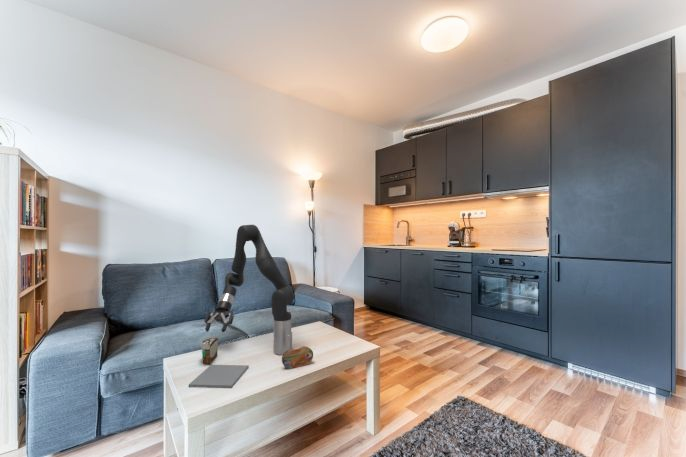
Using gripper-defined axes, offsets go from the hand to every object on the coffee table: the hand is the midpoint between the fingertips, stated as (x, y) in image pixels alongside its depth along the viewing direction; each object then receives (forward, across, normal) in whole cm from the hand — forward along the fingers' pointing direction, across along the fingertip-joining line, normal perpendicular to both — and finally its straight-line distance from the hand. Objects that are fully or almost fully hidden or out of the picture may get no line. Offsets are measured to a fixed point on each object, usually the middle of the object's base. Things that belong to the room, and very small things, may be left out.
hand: (214, 331), depth 149 cm
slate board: (+24, +14, -7) cm, 29 cm away
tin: (+16, +46, +2) cm, 48 cm away
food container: (+14, 0, +4) cm, 14 cm away
